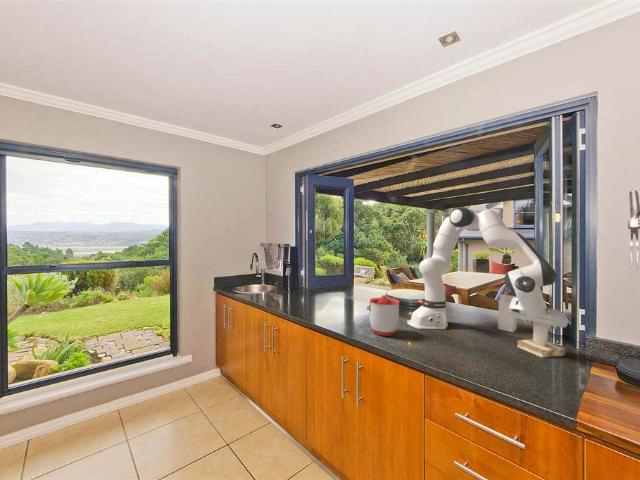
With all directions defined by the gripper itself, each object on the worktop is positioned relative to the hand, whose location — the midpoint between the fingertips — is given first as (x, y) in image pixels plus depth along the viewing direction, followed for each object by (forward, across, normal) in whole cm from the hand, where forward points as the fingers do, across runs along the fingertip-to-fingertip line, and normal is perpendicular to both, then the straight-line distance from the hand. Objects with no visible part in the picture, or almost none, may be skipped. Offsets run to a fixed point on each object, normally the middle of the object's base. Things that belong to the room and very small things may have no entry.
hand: (540, 325), depth 129 cm
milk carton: (+24, +21, -7) cm, 32 cm away
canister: (+6, 0, +6) cm, 9 cm away
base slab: (+8, 0, +8) cm, 12 cm away
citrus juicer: (-18, +59, +35) cm, 71 cm away
